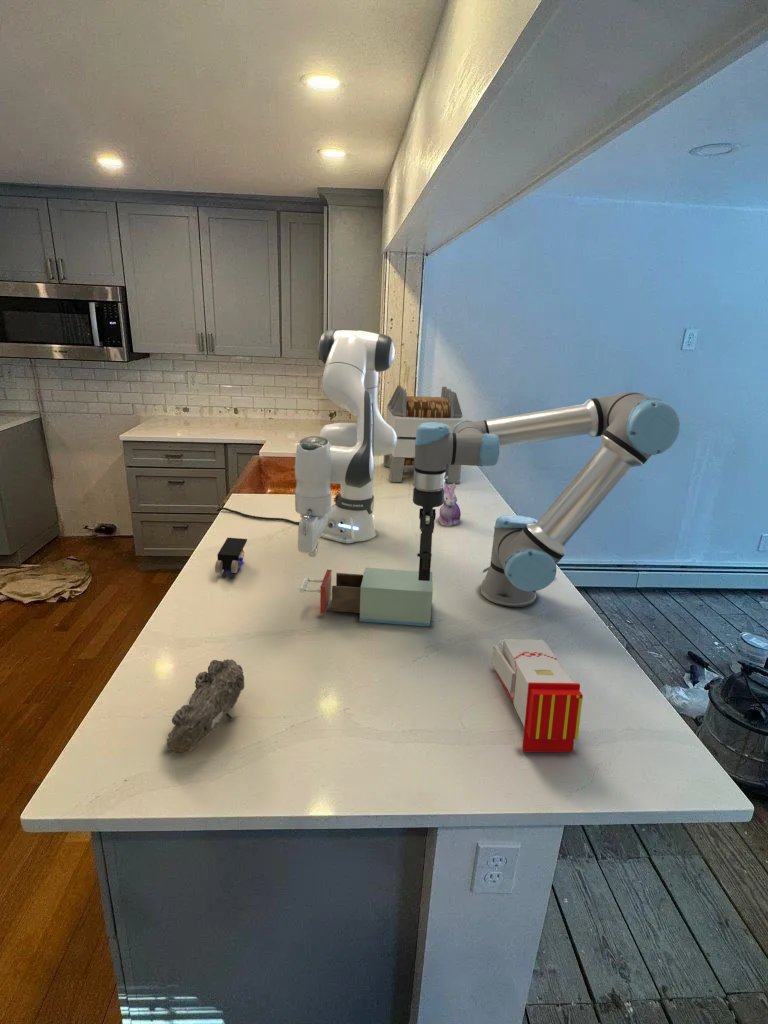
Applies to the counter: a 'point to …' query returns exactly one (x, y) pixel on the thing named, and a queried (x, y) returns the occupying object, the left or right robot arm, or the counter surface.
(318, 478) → the left robot arm
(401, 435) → the transformer
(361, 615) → the cabinet
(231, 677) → the fossil
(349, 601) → the drawer
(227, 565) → the figurine character
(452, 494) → the figurine
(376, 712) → the counter surface
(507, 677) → the toy
